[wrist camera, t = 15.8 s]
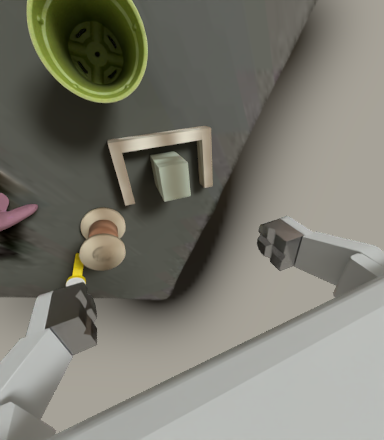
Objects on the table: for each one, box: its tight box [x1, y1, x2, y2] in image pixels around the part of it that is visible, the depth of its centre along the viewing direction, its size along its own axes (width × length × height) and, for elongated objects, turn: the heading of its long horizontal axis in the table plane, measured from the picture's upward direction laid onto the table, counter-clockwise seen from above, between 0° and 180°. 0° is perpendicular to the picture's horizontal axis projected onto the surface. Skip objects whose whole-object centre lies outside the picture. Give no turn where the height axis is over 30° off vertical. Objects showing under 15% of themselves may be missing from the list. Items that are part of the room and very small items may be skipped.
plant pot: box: [27, 0, 148, 103], centre depth 22 cm, size 9×9×9 cm
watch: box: [66, 253, 86, 287], centre depth 36 cm, size 6×3×6 cm, turn 160°
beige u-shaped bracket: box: [108, 126, 213, 206], centre depth 33 cm, size 15×10×2 cm, turn 95°
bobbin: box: [79, 207, 125, 271], centre depth 33 cm, size 7×7×8 cm
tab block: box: [150, 151, 191, 202], centre depth 32 cm, size 4×5×7 cm
